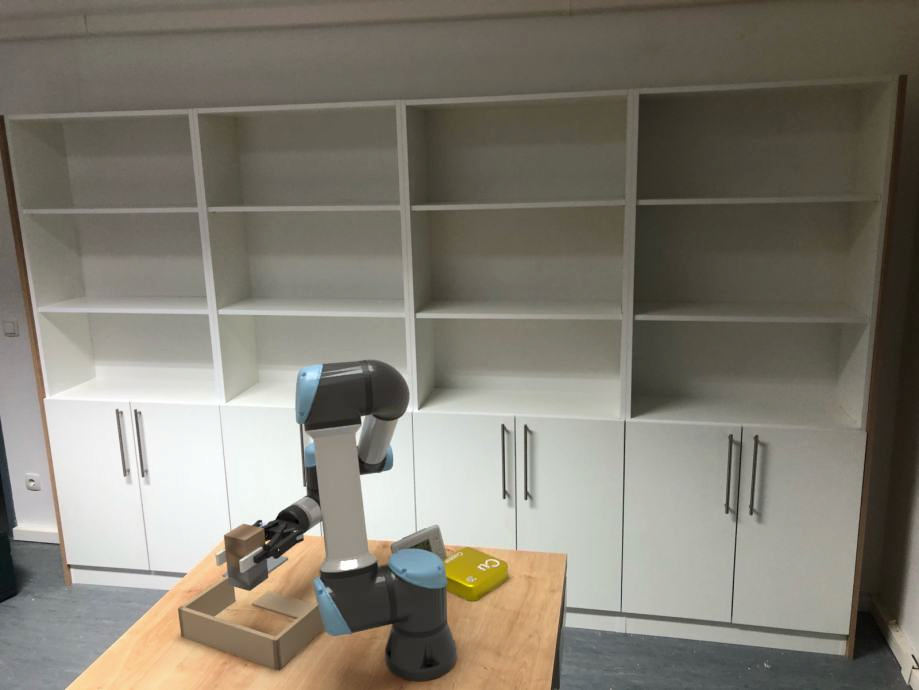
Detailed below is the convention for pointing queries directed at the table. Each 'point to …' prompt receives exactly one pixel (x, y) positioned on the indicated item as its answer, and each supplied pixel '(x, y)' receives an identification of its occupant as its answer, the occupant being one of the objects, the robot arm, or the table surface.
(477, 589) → the element tile
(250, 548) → the reflective metal box
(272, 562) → the mat
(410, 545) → the digital clock
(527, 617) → the table surface
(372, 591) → the robot arm
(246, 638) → the cardboard walls
